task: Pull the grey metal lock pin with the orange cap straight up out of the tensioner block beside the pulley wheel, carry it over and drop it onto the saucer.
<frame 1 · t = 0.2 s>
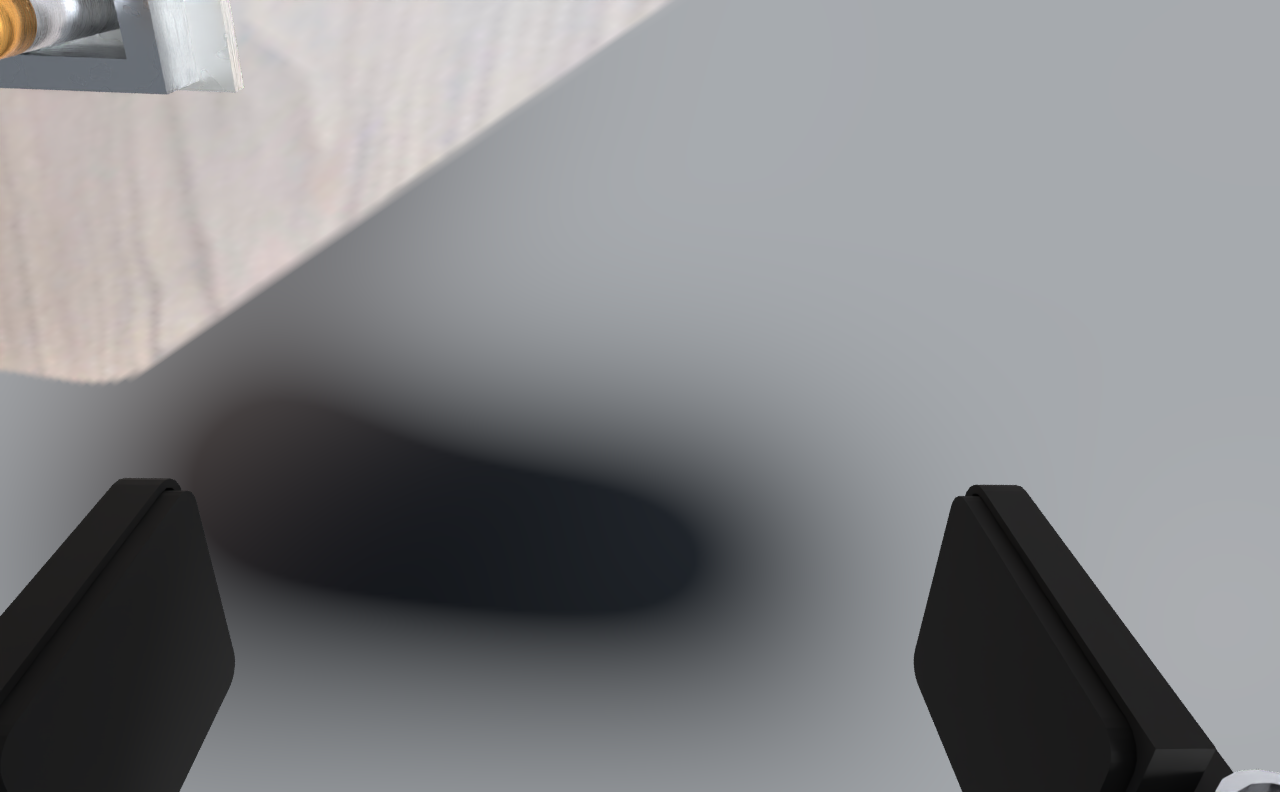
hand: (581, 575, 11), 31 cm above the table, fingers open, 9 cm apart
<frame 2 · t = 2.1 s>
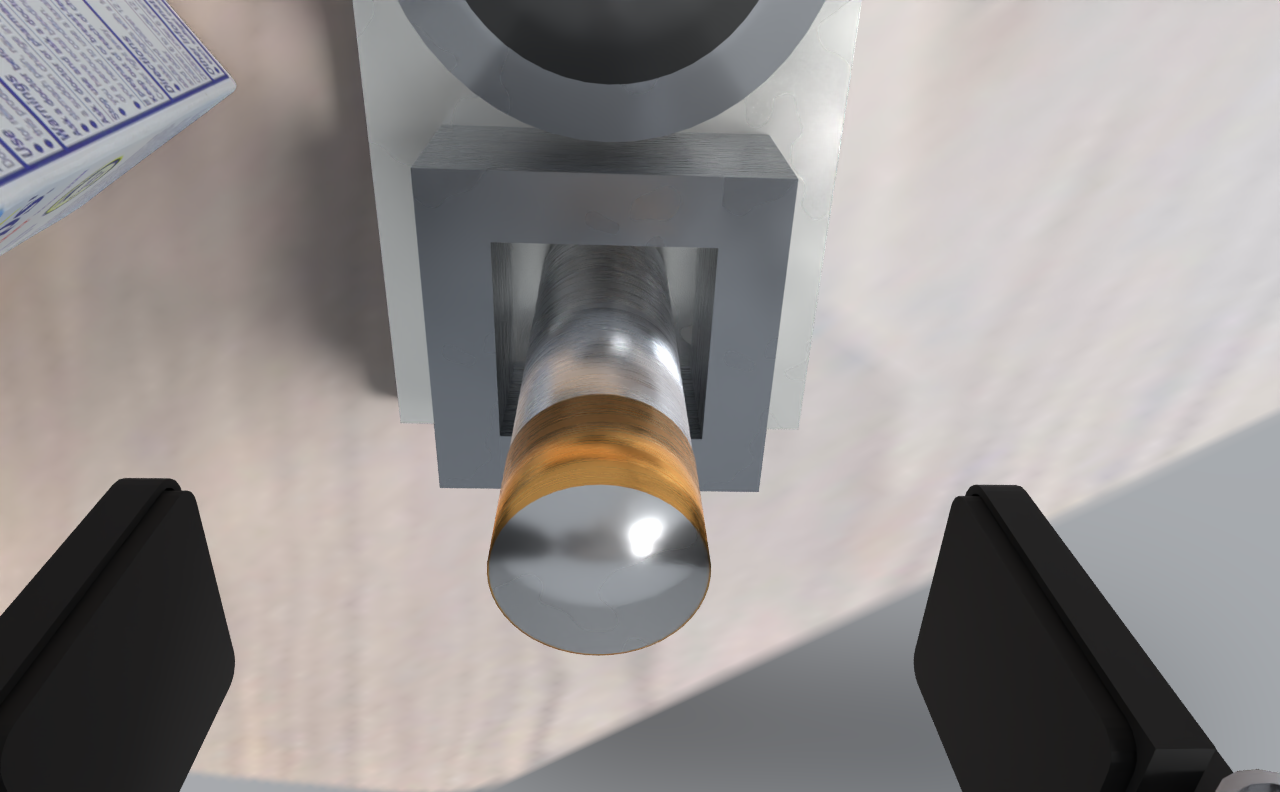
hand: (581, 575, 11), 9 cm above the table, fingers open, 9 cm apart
lock pin: (604, 282, 18), point 1 cm above the table, touching tensioner
tensioner: (607, 97, 17), on the table
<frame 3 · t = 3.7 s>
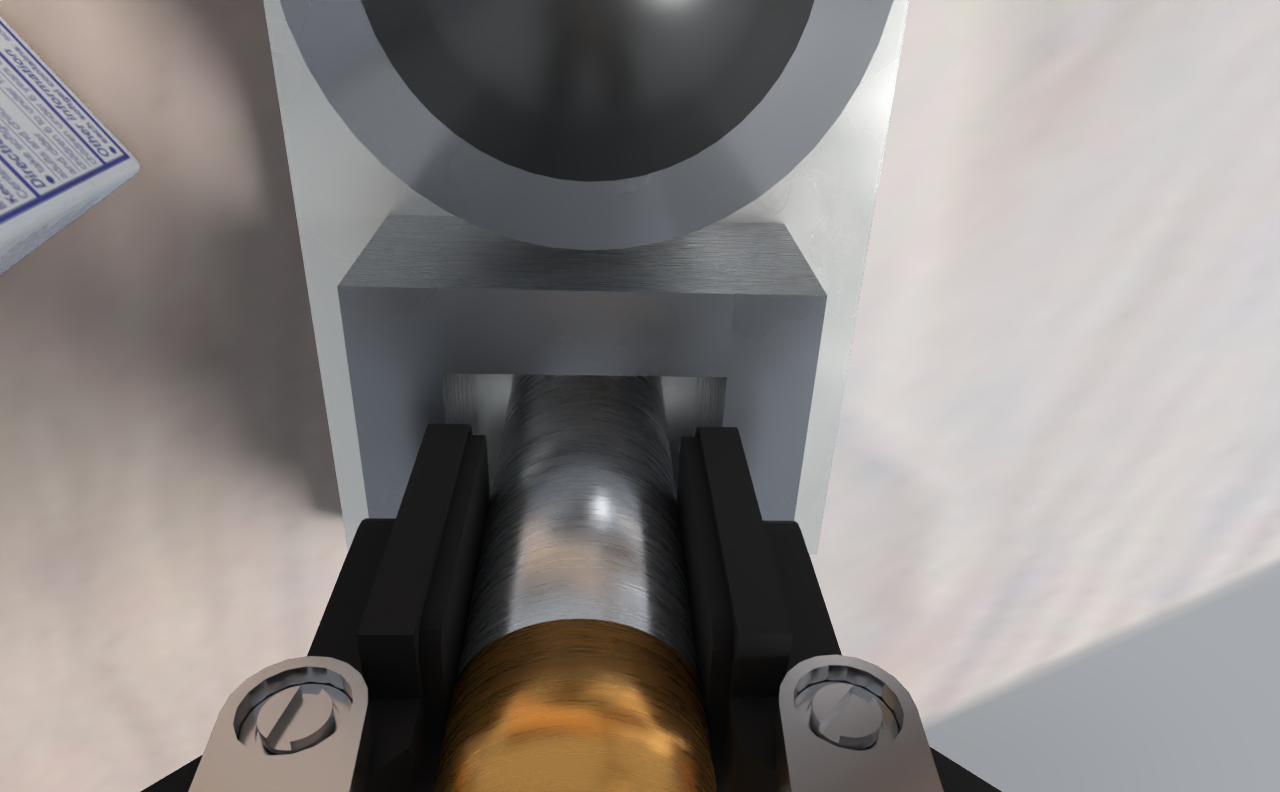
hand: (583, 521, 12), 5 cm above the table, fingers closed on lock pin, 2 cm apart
lock pin: (587, 393, 15), point 1 cm above the table, touching gripper, tensioner
tensioner: (589, 177, 14), on the table
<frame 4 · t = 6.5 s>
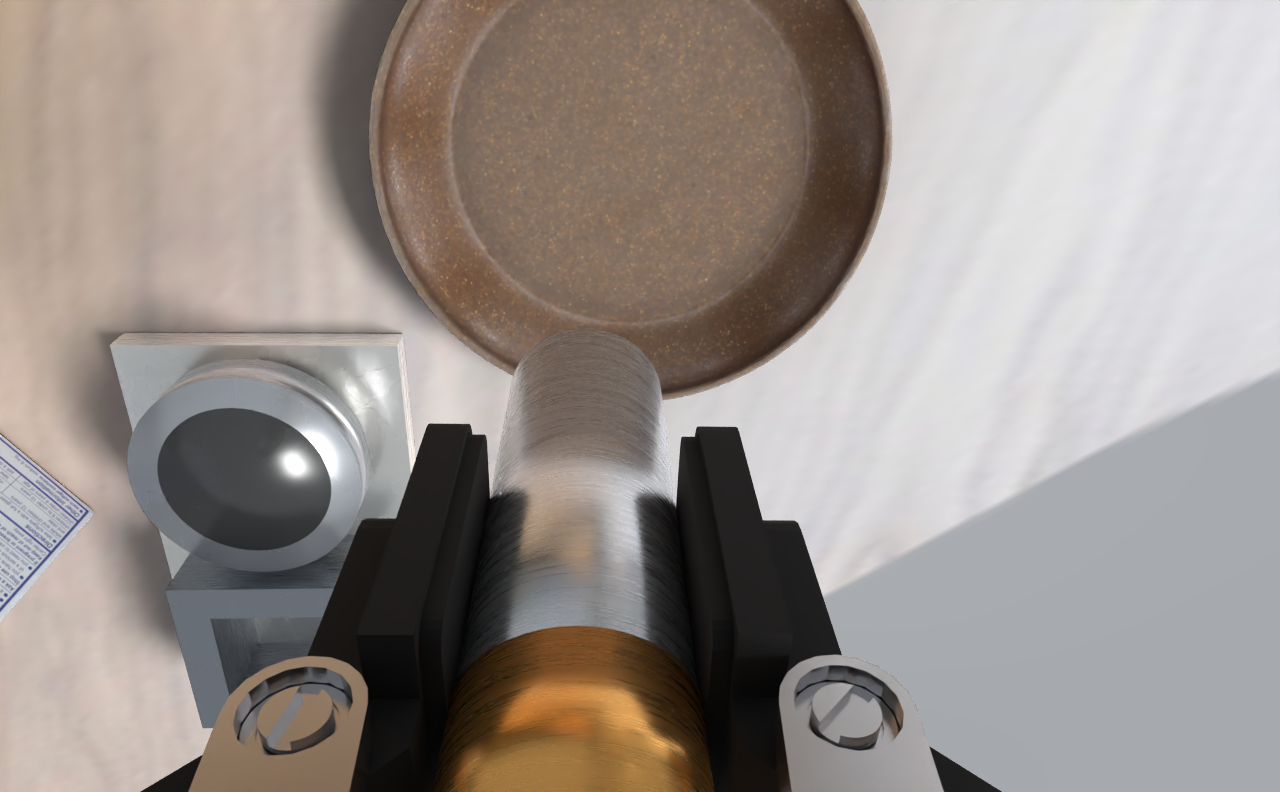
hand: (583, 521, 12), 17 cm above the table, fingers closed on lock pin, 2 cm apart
saucer: (631, 151, 27), on the table
lock pin: (586, 396, 15), point 14 cm above the table, touching gripper
tensioner: (296, 510, 32), on the table
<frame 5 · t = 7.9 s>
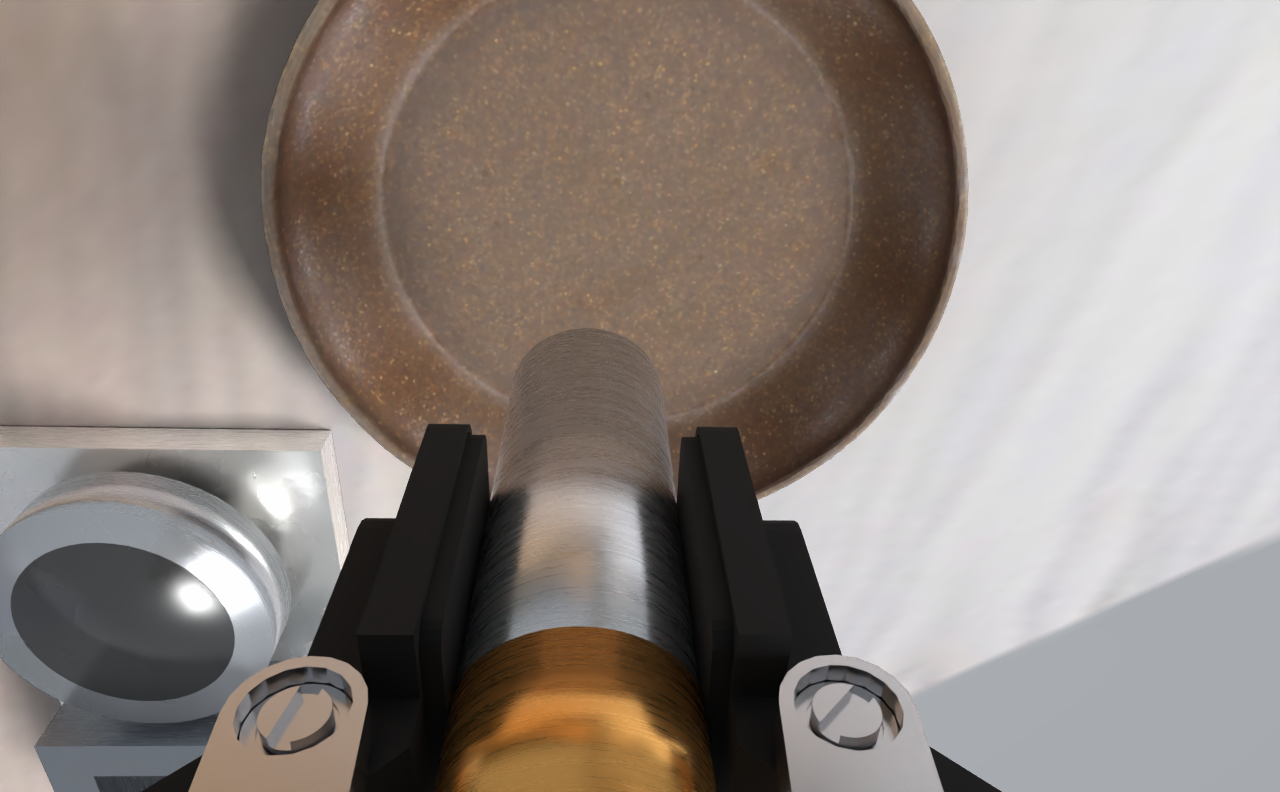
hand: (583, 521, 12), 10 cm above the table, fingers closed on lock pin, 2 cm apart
saucer: (619, 212, 21), on the table
lock pin: (587, 396, 15), point 7 cm above the table, touching gripper
tensioner: (211, 625, 27), on the table
when the fingers open (7 cm above the table, at t = 9.1 s): lock pin stays where it is, resting on saucer.
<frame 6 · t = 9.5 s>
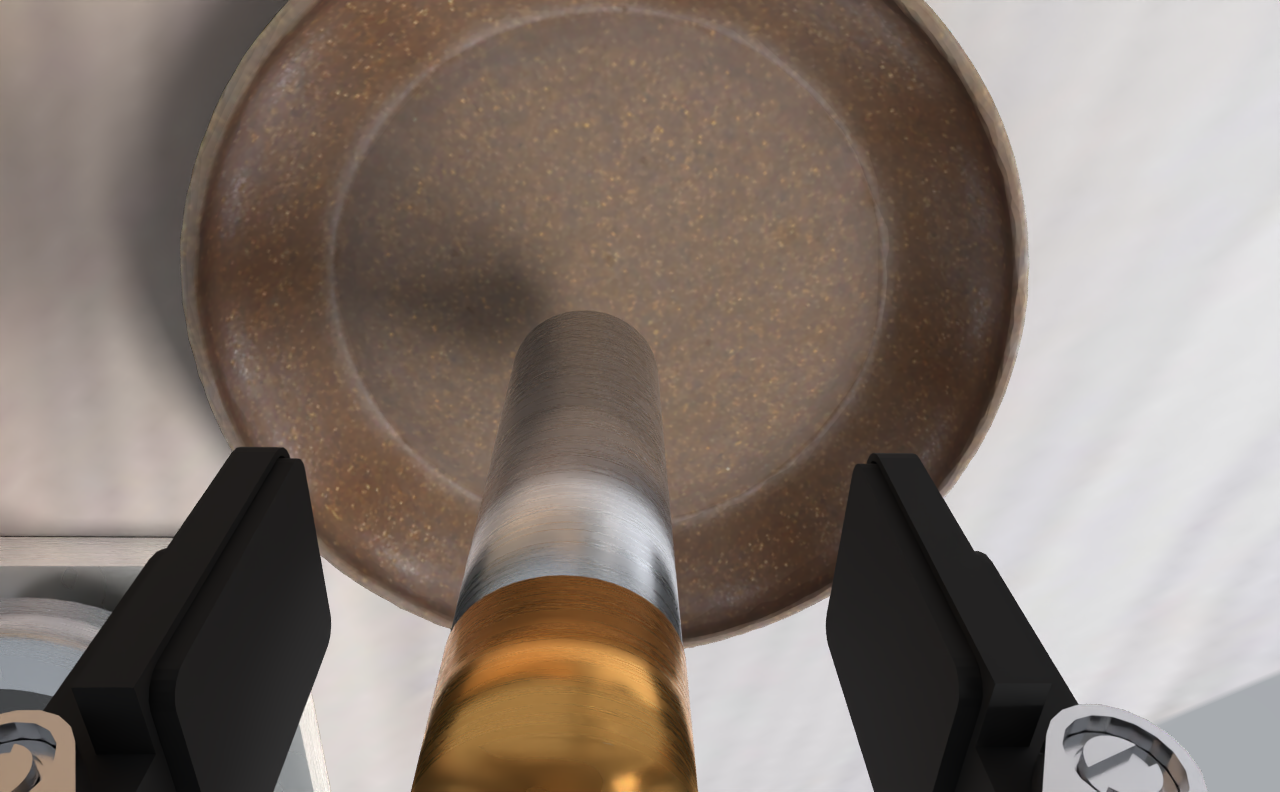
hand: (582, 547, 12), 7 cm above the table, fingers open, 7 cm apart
saucer: (613, 291, 18), on the table, touching lock pin
lock pin: (585, 377, 16), point 2 cm above the table, touching saucer
tensioner: (149, 749, 23), on the table
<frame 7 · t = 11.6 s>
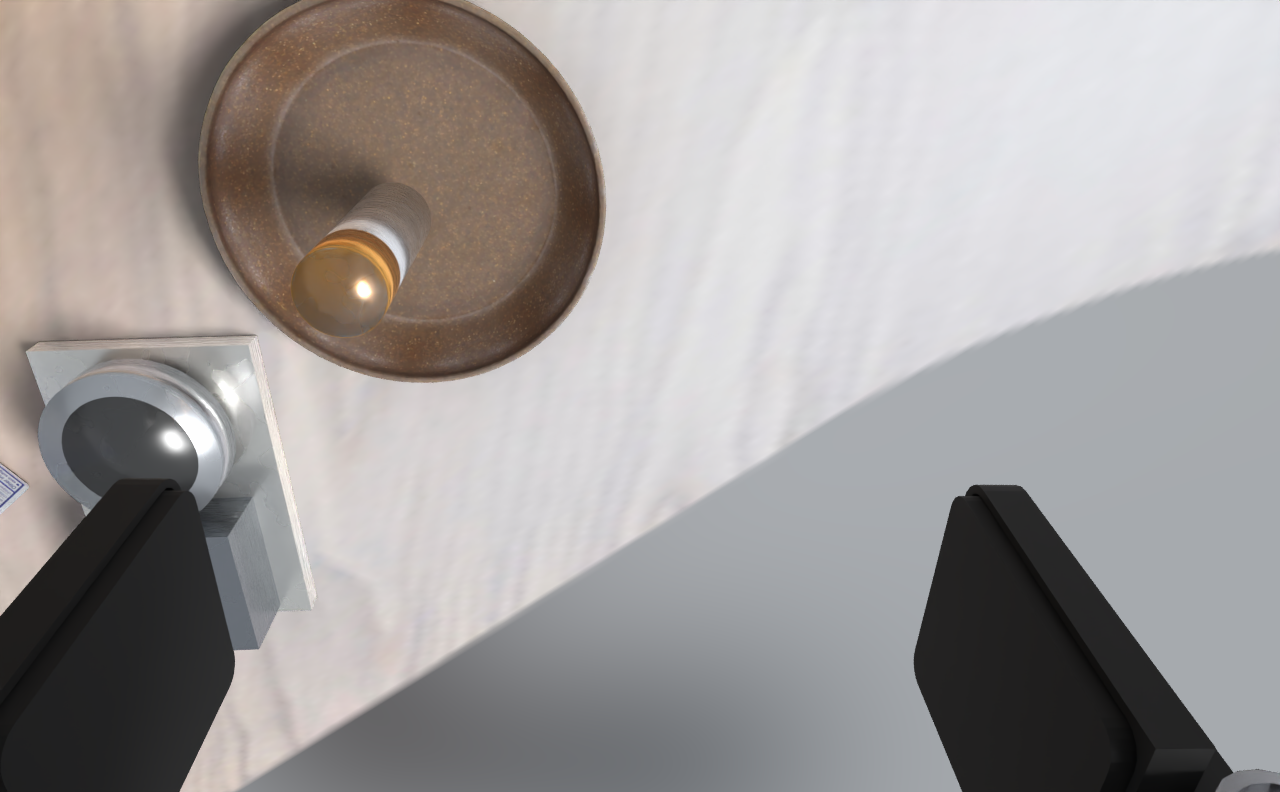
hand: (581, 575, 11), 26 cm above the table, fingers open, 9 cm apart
saucer: (420, 185, 35), on the table, touching lock pin
lock pin: (395, 217, 33), point 2 cm above the table, touching saucer
tensioner: (189, 479, 40), on the table
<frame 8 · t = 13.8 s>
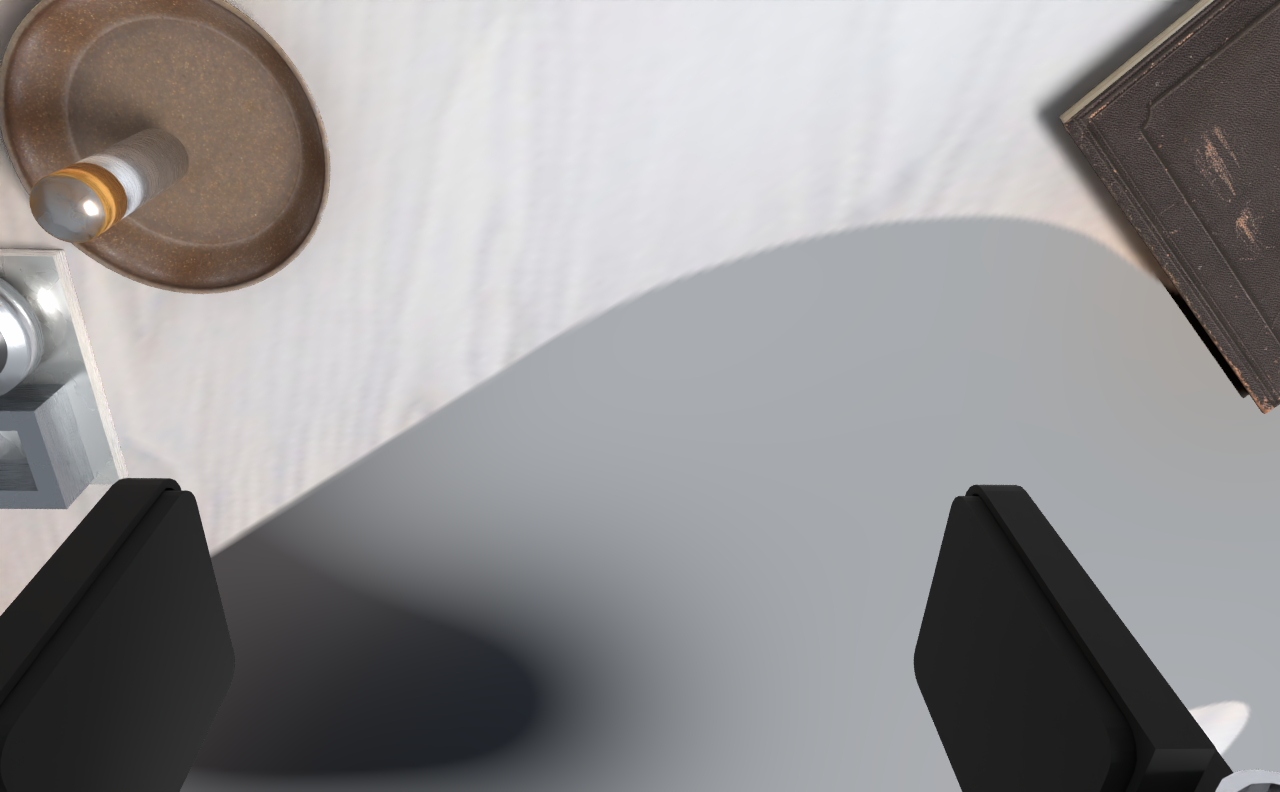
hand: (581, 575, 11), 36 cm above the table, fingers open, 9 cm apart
saucer: (192, 134, 44), on the table, touching lock pin
lock pin: (159, 156, 41), point 2 cm above the table, touching saucer
tensioner: (14, 368, 49), on the table
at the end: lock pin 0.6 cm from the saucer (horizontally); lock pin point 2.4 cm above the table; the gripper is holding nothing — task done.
